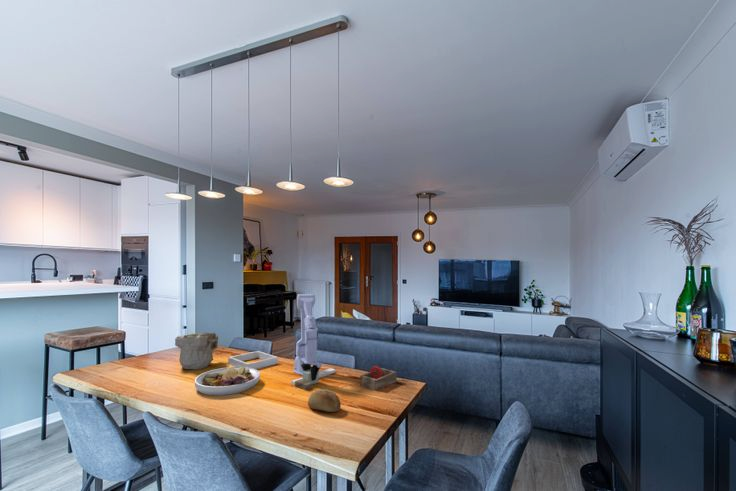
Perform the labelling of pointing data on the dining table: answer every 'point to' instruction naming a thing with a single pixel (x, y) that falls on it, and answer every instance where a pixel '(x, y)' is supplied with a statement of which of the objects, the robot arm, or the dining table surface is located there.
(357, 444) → the dining table surface
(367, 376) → the wooden box
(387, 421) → the dining table surface
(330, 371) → the white flat plank
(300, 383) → the cleat
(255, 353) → the frame
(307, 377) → the cabinet block
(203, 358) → the ceramic vessel
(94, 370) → the dining table surface
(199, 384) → the bowl
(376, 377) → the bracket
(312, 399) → the bread roll
